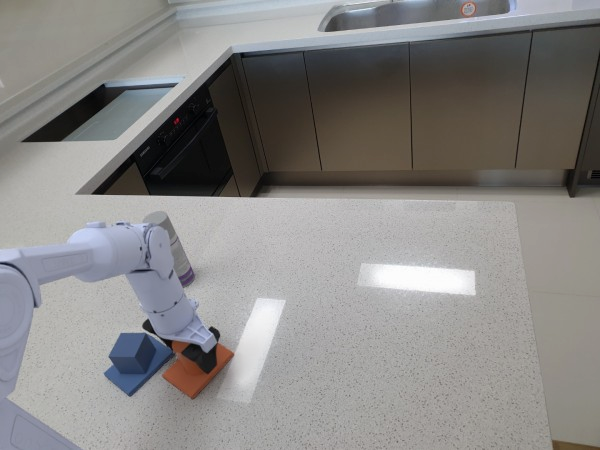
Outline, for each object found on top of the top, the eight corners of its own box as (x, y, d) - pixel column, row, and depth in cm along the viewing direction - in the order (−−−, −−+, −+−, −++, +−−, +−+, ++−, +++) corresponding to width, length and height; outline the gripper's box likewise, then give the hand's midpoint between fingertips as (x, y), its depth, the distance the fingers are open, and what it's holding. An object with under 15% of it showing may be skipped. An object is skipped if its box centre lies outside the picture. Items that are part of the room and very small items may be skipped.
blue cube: (145, 374, 72) (134, 356, 69) (120, 373, 73) (107, 356, 70) (156, 350, 75) (146, 332, 72) (131, 350, 76) (120, 332, 73)
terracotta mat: (192, 399, 67) (190, 396, 67) (163, 378, 71) (161, 375, 71) (234, 355, 73) (233, 352, 72) (205, 337, 76) (203, 334, 76)
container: (170, 275, 90) (141, 215, 81) (193, 267, 91) (166, 207, 82) (172, 291, 87) (141, 230, 78) (196, 283, 87) (168, 221, 78)
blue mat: (130, 397, 70) (128, 394, 69) (105, 376, 74) (103, 373, 73) (174, 353, 75) (173, 350, 74) (149, 336, 79) (147, 333, 78)
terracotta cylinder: (196, 380, 69) (184, 358, 66) (178, 367, 72) (165, 345, 68) (217, 358, 72) (206, 336, 68) (198, 347, 74) (187, 324, 71)
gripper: (220, 296, 60) (245, 358, 69) (153, 262, 69) (183, 321, 77) (179, 334, 57) (212, 395, 65) (114, 293, 65) (150, 351, 73)
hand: (194, 357), depth 71 cm, fingers open, 7 cm apart
